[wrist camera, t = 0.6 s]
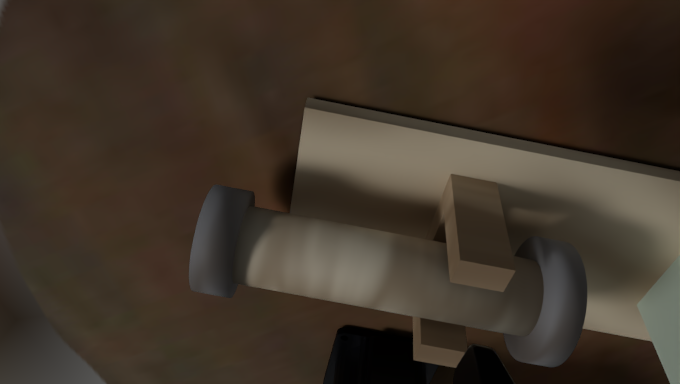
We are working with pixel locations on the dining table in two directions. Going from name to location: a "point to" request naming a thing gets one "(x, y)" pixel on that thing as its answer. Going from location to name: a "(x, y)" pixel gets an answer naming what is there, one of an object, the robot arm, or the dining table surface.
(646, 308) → the block
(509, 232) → the bench
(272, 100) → the dining table surface
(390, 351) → the robot arm
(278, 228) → the shaft
